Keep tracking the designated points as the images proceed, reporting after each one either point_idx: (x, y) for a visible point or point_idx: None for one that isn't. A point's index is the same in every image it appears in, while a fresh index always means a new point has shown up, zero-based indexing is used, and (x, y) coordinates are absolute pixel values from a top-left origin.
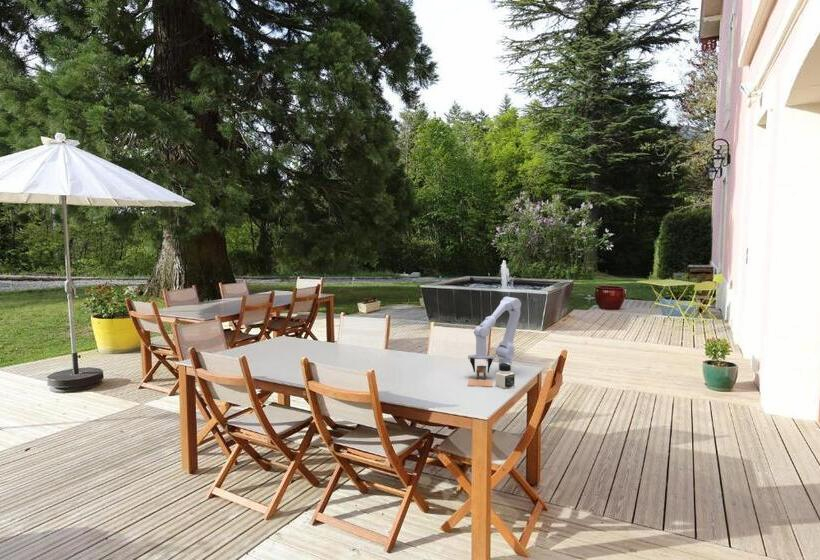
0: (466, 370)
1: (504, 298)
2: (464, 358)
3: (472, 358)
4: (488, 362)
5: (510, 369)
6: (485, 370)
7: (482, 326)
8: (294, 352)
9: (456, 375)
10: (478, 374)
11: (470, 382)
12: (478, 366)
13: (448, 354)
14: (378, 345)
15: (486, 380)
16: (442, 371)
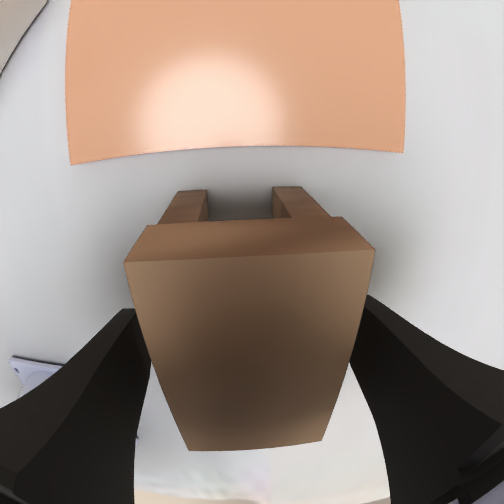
0: (362, 421)
1: None
2: (331, 497)
3: (494, 487)
4: (21, 449)
5: None
6: (132, 249)
7: None
8: None
9: (462, 305)
10: (291, 212)
11: (374, 10)
12: (306, 418)
13: (375, 493)
14: None
15: (149, 125)
16: (491, 354)
